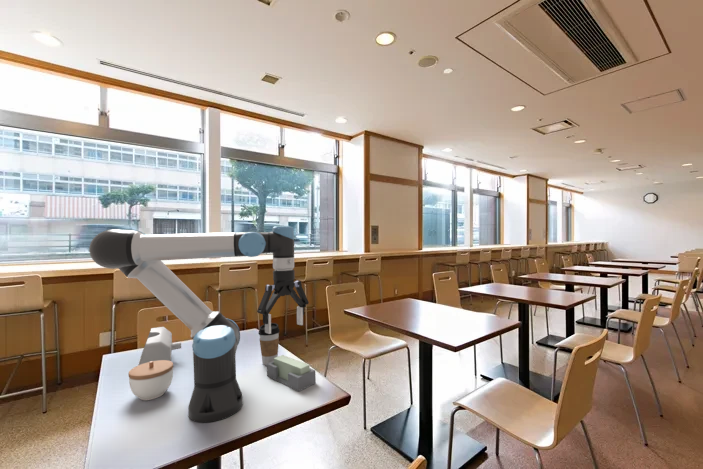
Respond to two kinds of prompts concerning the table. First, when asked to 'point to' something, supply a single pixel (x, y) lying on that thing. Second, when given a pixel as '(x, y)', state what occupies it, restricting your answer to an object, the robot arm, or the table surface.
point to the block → (290, 366)
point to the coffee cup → (269, 343)
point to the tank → (158, 346)
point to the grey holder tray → (292, 378)
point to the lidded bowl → (151, 379)
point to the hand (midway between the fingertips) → (284, 328)
